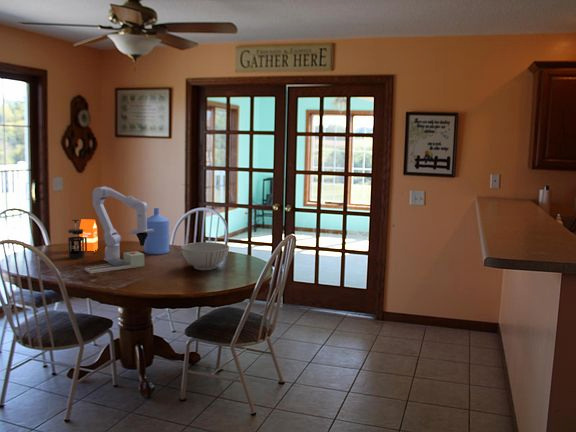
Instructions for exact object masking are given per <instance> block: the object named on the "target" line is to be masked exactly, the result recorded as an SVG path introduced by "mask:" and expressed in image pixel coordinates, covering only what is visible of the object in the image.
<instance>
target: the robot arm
mask: <svg viewBox="0 0 576 432" xmlns="http://www.w3.org/2000/svg"><path fill="white" fill-rule="evenodd" d="M91 195H92V207H93V208H94V210H95V213H96V215H97V218H98V220H99V223H100V224H101V227H102V230H103V231H104V234H103V238H104V244H105V245H106V246H105V248H104V258H103V260H104V261H105V262H108V260H109V259H113V253H115V252H118V253H119V259H121V257H120V256H121V252H120V251H121V249H120V246H121V245H120V243H121V242H122V236H121V234H120V233H118V231H117V230H116V228H114V226H113V223H112V222H111V219H110V217H109V214H108V212H107V210H106V208H105V206H104V203H105V200H106V199H107V198H108V197H109V198H110V197H111V198H115V199H116V200H119V201H121V202H123V204H124V205H125V206H127V207H129V208H132V209H134V210H135V212H136V229H134V230H133V229H132V230H129V232H128V233H129V235H130V236H131V235H132V236H133V235H136V237H137V239H138V242H139V245H140V246H141V247H143V246H144V243H145V240H146V237H147V236H148V234H147V233H150V232H154V229H147V218H148V213H147V212H148V211H147V210H148V209H149V204H148V203H147V202H146V201H144V200H143V201H141V199H137V198H136V197H134V196H133V195H128V196H126V195H124V194H122V193H120V192H119V191H117V190H115V189H114V188H111V187H108V186H106V185H102V186H99V187H95V188H94V189H93V191H92V193H91Z"/></svg>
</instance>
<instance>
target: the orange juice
mask: <svg viewBox="0 0 576 432" xmlns="http://www.w3.org/2000/svg"><path fill="white" fill-rule="evenodd" d="M96 222H97V221H96V219H87V218H86V219H83V218H82V219H81V220H80V225H79V228H78V229H84V230H83V234H78V235H79V236H78V237H87V251H94V252H96V251H98V250H97V249H98V248H99V246H98V243H99V241H98V240H99V238H98V226H97V223H96ZM81 246H82V241H81ZM95 250H96V251H95ZM81 251H82V249H81ZM84 251H85V238H84Z"/></svg>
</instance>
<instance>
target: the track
mask: <svg viewBox="0 0 576 432" xmlns="http://www.w3.org/2000/svg"><path fill="white" fill-rule="evenodd" d="M132 252H136V253H137V254H131V253H132ZM122 253H123V257H122V258H123V259H122V260H124V264H121V265H112V264H109V263H105V264H98V265H89V266H85V267H84V271H85V272H87V273H89V274H97V273H105V272H111V271H119V270H125V269H134V268H140V267H145V253H143V252H140V251H138V250H135V251H127V252H122Z"/></svg>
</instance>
